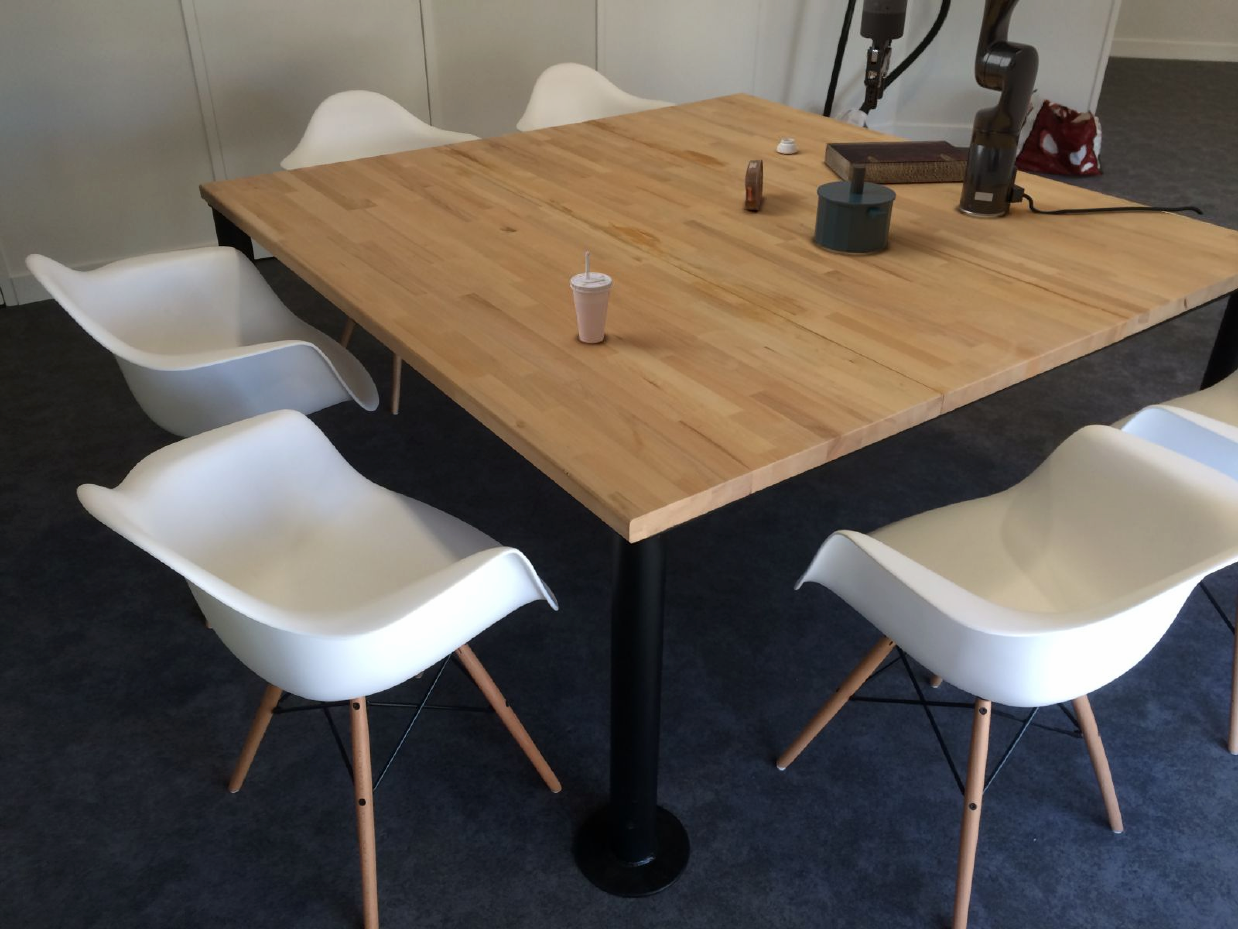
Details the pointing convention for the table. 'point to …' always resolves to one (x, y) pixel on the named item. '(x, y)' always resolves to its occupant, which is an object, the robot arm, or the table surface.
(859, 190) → the lid
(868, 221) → the pot
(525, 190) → the table surface
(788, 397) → the table surface
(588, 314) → the smoothie
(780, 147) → the lidless jar
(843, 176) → the hardback book
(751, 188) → the tin
